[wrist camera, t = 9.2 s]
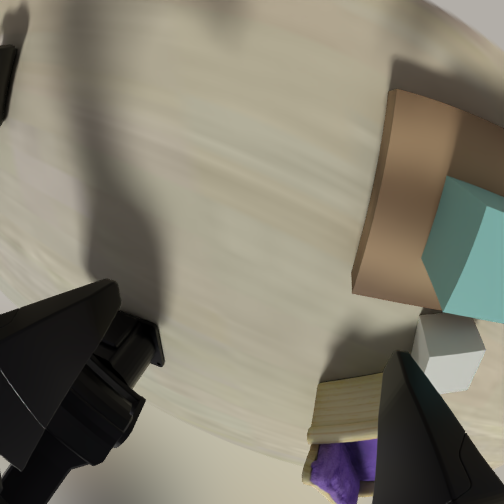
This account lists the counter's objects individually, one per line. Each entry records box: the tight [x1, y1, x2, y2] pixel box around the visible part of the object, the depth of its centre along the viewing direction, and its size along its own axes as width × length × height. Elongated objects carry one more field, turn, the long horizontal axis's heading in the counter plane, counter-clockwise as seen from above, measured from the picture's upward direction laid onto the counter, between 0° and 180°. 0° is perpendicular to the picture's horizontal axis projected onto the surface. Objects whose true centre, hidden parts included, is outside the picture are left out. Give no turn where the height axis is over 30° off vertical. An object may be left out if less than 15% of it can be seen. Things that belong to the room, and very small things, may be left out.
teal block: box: [421, 176, 504, 324], centre depth 11 cm, size 5×5×5 cm
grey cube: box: [411, 313, 486, 394], centre depth 18 cm, size 4×4×4 cm
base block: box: [351, 89, 504, 310], centre depth 14 cm, size 12×12×3 cm
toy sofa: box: [302, 372, 383, 504], centre depth 23 cm, size 21×9×10 cm, turn 23°
